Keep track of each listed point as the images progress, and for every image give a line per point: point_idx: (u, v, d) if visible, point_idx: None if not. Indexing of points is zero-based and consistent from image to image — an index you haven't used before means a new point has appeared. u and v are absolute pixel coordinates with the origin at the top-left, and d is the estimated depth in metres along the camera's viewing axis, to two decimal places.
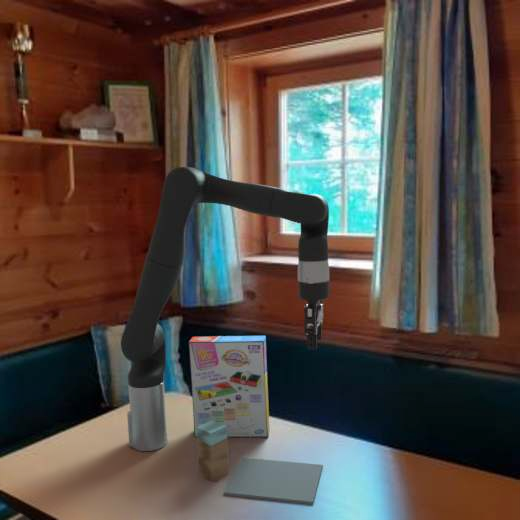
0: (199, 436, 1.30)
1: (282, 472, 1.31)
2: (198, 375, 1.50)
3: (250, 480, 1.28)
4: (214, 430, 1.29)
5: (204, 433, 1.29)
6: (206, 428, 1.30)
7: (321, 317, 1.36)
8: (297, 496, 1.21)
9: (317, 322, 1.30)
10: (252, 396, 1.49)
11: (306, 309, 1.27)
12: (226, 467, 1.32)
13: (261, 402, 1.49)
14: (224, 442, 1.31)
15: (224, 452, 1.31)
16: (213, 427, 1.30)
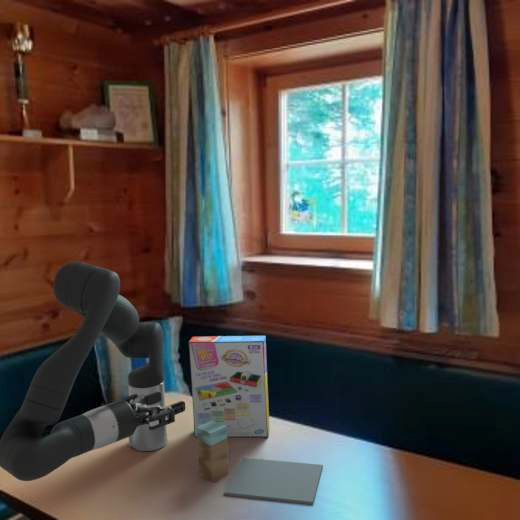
0: (199, 436, 1.30)
1: (282, 472, 1.31)
2: (198, 375, 1.50)
3: (250, 480, 1.28)
4: (214, 430, 1.29)
5: (204, 433, 1.29)
6: (206, 428, 1.30)
7: None
8: (297, 496, 1.21)
9: None
10: (252, 396, 1.49)
11: None
12: (226, 467, 1.32)
13: (261, 402, 1.49)
14: (224, 442, 1.31)
15: (224, 452, 1.31)
16: (213, 427, 1.30)
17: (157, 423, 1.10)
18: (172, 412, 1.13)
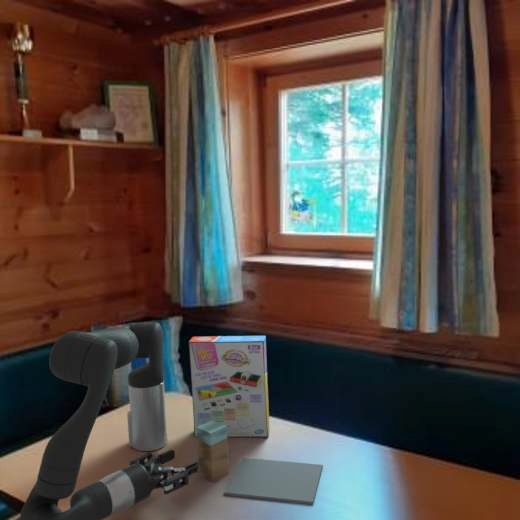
0: (199, 436, 1.30)
1: (282, 472, 1.31)
2: (198, 375, 1.50)
3: (250, 480, 1.28)
4: (214, 430, 1.29)
5: (204, 433, 1.29)
6: (206, 428, 1.30)
7: None
8: (297, 496, 1.21)
9: None
10: (252, 396, 1.49)
11: None
12: (226, 467, 1.32)
13: (261, 402, 1.49)
14: (224, 442, 1.31)
15: (224, 452, 1.31)
16: (213, 427, 1.30)
17: (172, 487, 1.15)
18: (186, 475, 1.17)
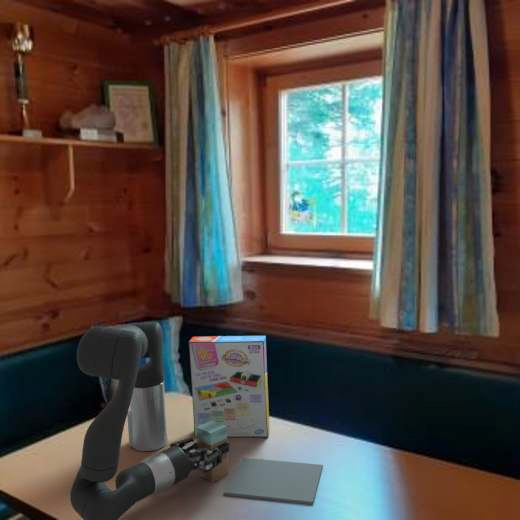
0: (199, 436, 1.30)
1: (282, 472, 1.31)
2: (198, 375, 1.50)
3: (250, 480, 1.28)
4: (214, 430, 1.29)
5: (204, 433, 1.29)
6: (206, 428, 1.30)
7: None
8: (297, 496, 1.21)
9: None
10: (252, 396, 1.49)
11: None
12: (226, 467, 1.32)
13: (261, 402, 1.49)
14: (224, 442, 1.31)
15: None
16: (213, 427, 1.30)
17: (211, 465, 1.23)
18: (220, 454, 1.26)
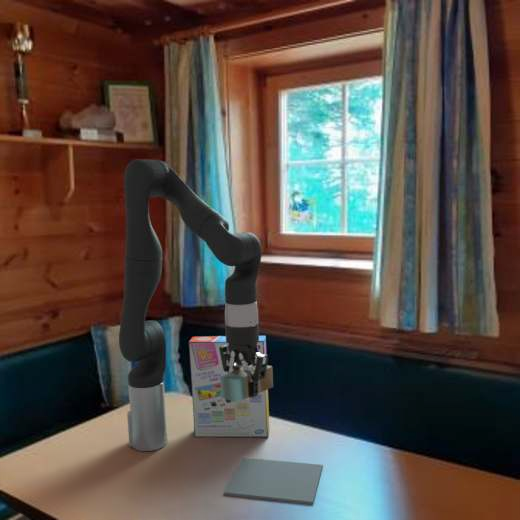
0: (239, 377, 1.24)
1: (282, 472, 1.31)
2: (198, 375, 1.50)
3: (250, 480, 1.28)
4: (221, 383, 1.25)
5: (228, 377, 1.24)
6: (227, 382, 1.24)
7: None
8: (297, 496, 1.21)
9: None
10: None
11: (261, 358, 1.21)
12: None
13: (261, 402, 1.49)
14: None
15: None
16: (226, 388, 1.24)
17: None
18: None
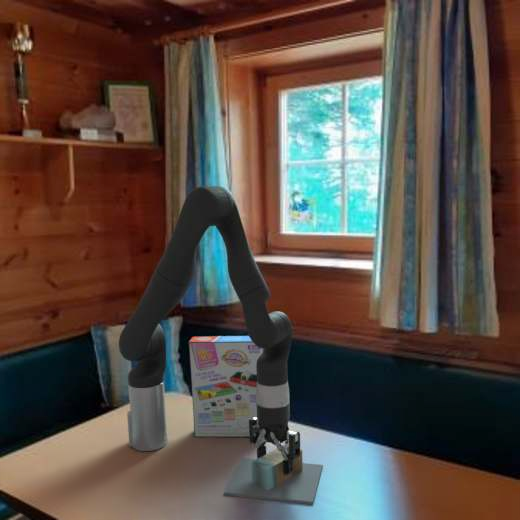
0: (270, 464, 1.25)
1: None
2: (198, 375, 1.50)
3: (250, 480, 1.28)
4: (252, 469, 1.26)
5: (260, 464, 1.25)
6: (259, 470, 1.25)
7: None
8: (297, 496, 1.21)
9: None
10: (252, 396, 1.49)
11: (293, 435, 1.22)
12: None
13: None
14: None
15: None
16: (257, 475, 1.25)
17: None
18: None
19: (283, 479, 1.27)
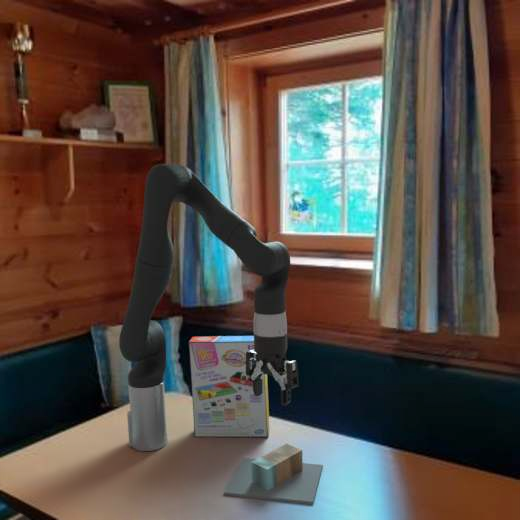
0: (270, 464, 1.25)
1: None
2: (198, 375, 1.50)
3: (250, 480, 1.28)
4: (252, 469, 1.26)
5: (260, 464, 1.25)
6: (259, 470, 1.25)
7: None
8: (297, 496, 1.21)
9: None
10: (252, 396, 1.49)
11: (290, 363, 1.21)
12: None
13: (261, 402, 1.49)
14: None
15: None
16: (257, 475, 1.25)
17: None
18: None
19: (283, 479, 1.27)
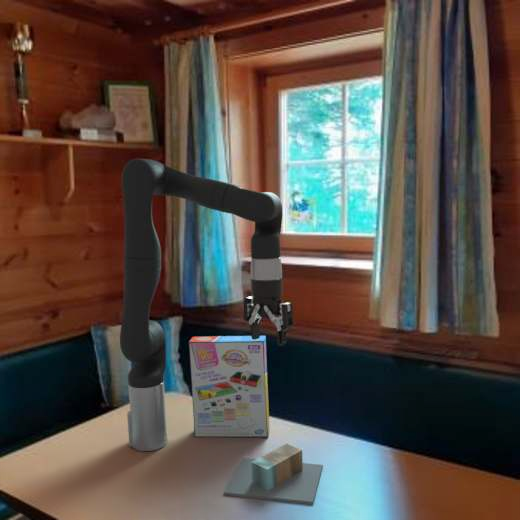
0: (270, 464, 1.25)
1: None
2: (198, 375, 1.50)
3: (250, 480, 1.28)
4: (252, 469, 1.26)
5: (260, 464, 1.25)
6: (259, 470, 1.25)
7: None
8: (297, 496, 1.21)
9: None
10: (252, 396, 1.49)
11: (285, 304, 1.29)
12: None
13: (261, 402, 1.49)
14: None
15: None
16: (257, 475, 1.25)
17: None
18: None
19: (283, 479, 1.27)
